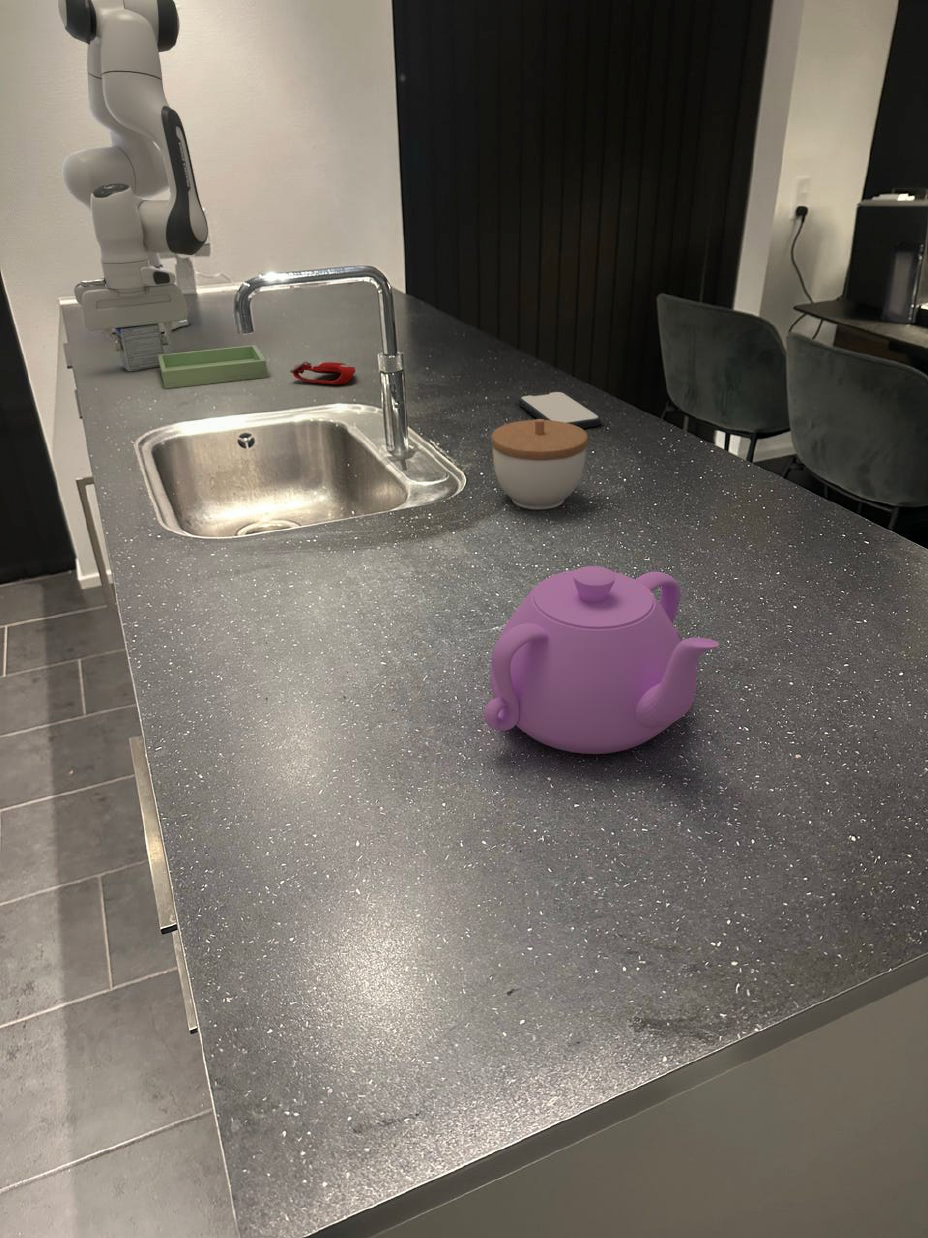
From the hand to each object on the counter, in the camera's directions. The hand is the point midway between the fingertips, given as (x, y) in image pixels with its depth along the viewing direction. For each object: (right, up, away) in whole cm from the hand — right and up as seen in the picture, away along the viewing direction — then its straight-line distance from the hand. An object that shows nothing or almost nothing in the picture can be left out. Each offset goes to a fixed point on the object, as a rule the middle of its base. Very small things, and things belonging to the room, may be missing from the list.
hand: (142, 347), depth 184 cm
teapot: (+78, -65, -105) cm, 146 cm away
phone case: (+82, -21, -30) cm, 90 cm away
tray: (+15, -6, -3) cm, 17 cm away
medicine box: (0, -3, +3) cm, 4 cm away
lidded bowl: (+76, -39, -61) cm, 105 cm away
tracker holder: (+39, -9, -8) cm, 41 cm away
